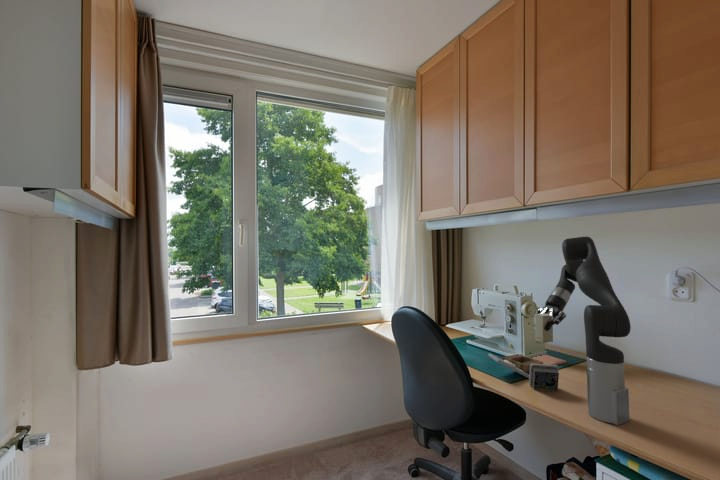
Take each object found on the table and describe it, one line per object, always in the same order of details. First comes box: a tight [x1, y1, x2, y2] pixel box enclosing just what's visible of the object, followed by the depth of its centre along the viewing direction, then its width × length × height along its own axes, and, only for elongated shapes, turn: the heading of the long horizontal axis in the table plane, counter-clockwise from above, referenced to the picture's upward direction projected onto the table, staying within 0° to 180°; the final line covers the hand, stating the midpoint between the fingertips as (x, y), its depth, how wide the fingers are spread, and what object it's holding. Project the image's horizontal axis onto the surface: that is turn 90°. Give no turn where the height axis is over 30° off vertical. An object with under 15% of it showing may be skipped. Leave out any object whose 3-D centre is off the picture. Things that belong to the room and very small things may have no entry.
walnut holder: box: [502, 353, 543, 374], centre depth 144 cm, size 12×10×3 cm
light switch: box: [487, 352, 530, 379], centre depth 135 cm, size 8×6×14 cm
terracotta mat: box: [532, 354, 567, 366], centre depth 151 cm, size 12×12×1 cm
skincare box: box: [534, 313, 554, 344], centre depth 151 cm, size 6×4×12 cm
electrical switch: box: [528, 363, 560, 392], centre depth 121 cm, size 9×5×9 cm, turn 75°
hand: (540, 328), depth 151 cm, fingers closed on skincare box, 4 cm apart
